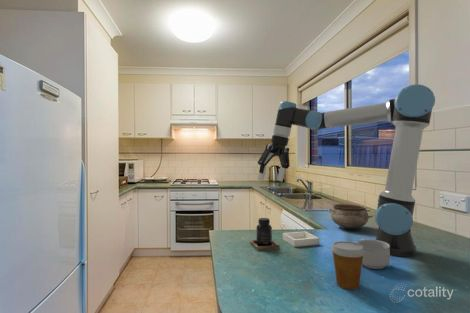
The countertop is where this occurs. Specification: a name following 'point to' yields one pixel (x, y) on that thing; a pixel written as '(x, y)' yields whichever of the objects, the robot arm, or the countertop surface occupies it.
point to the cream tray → (300, 239)
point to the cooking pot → (349, 215)
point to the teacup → (375, 253)
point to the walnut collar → (259, 248)
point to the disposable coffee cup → (348, 263)
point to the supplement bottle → (264, 232)
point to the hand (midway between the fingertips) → (270, 180)
